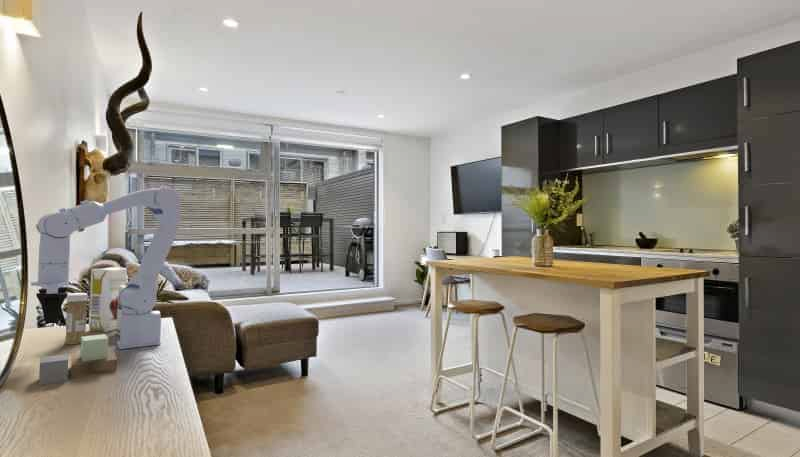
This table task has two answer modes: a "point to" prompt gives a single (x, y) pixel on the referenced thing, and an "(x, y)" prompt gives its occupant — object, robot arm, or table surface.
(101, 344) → the sage block
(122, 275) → the juice carton
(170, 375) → the table surface
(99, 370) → the walnut block
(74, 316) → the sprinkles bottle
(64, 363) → the grey block
